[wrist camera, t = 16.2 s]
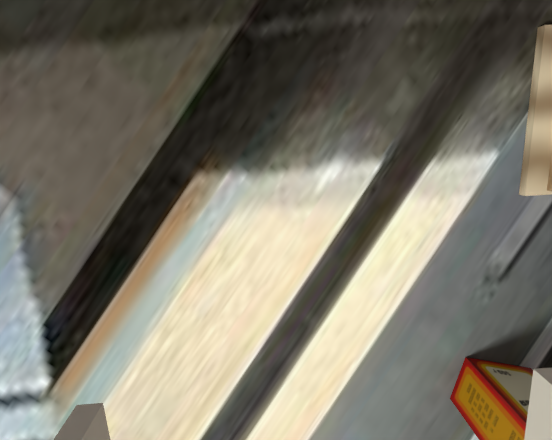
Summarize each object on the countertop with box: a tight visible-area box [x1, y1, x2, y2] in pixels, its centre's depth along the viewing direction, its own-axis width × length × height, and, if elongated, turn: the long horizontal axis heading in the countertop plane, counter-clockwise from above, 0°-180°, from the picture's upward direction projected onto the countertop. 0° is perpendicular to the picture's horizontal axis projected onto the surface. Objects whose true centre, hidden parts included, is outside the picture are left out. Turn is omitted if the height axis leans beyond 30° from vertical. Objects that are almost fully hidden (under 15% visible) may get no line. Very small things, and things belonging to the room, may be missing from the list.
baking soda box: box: [450, 357, 533, 440], centre depth 41 cm, size 10×6×16 cm
